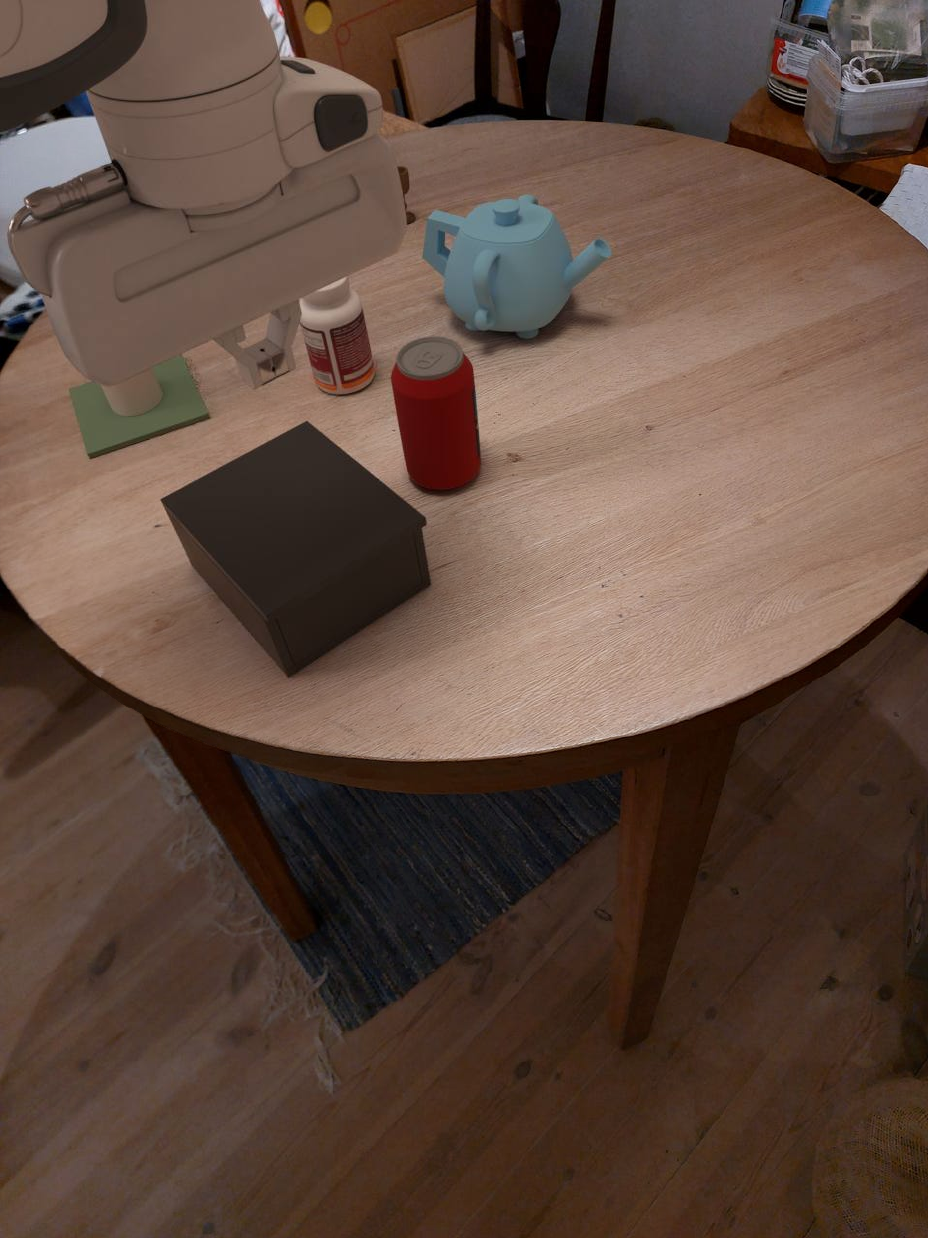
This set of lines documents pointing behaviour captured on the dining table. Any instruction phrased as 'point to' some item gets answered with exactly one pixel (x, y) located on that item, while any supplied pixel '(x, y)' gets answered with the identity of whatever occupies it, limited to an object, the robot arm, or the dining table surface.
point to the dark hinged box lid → (291, 518)
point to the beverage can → (437, 412)
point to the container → (135, 394)
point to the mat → (118, 431)
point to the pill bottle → (337, 338)
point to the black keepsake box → (322, 601)
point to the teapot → (507, 264)
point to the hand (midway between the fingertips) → (269, 375)
